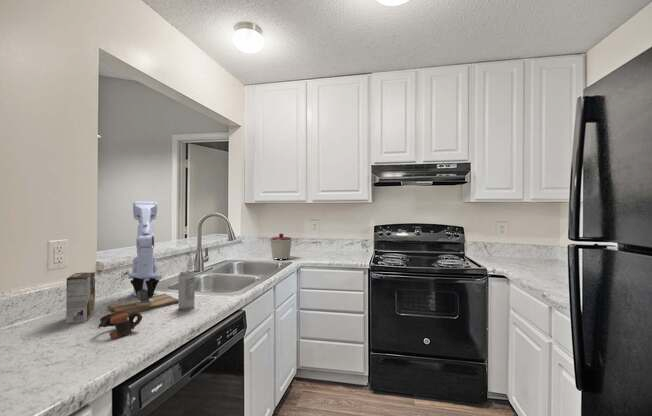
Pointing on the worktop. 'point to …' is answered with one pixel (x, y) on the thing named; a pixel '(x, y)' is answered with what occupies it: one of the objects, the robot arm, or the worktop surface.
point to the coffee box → (80, 297)
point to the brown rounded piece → (120, 322)
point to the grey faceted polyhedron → (143, 294)
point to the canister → (281, 247)
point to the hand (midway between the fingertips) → (144, 296)
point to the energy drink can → (186, 289)
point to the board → (144, 304)
